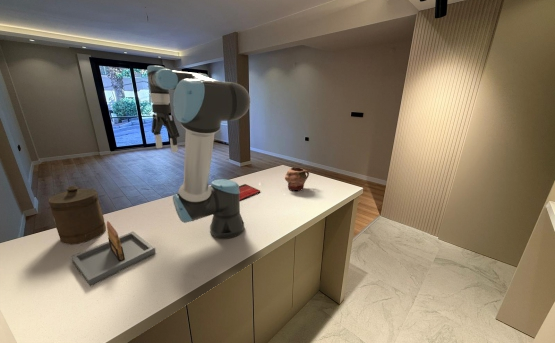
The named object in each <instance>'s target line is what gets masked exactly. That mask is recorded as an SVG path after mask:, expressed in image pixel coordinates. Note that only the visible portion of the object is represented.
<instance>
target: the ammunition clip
mask: <svg viewBox="0 0 555 343" xmlns="http://www.w3.org/2000/svg"><path fill="white" fill-rule="evenodd" d="M106 230H107V236H108V237H107V240H108V241H109V244H110V248H111V250H112V252H113V253H114V255H115V256H116V258H117V259H118V261H122V260H124V259H125V257H124V252H123V248H122V246H121V242H120V239H119V237H120V236H119V234H118V232H117V230H116V229H115V228H114V226H113V225H112V224H111V223H110V222H109V220H107V222H106Z"/></svg>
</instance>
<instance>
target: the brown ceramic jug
mask: <svg viewBox="0 0 555 343" xmlns="http://www.w3.org/2000/svg"><path fill="white" fill-rule="evenodd" d="M309 176H310V171H309V170H306V169H303V167H302V168H301V167H290V168H289V169H288V170H287V172H286V174H285V176H284V180H285V181H286V182H287V188H288V189H289V190H290V189H291V190H290V191H292V190H301V189H302V190H303V189H304V186H305V183H306V181H307V180H308V178H309ZM302 190H301V191H302Z"/></svg>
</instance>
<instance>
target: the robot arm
mask: <svg viewBox="0 0 555 343" xmlns="http://www.w3.org/2000/svg"><path fill="white" fill-rule="evenodd" d="M146 69H147V71H146V72H147V74H146V76H147V79H148V86H149V92H150V101H151V103H152V105H151V109H152V113H153V114H152V121H151V122H152V124H151V134H153V136H154V139H155V140H154V141H155V148H156V149H161V148H163V141H162V133H161V130H162V128H163V127H165V128H166V131H167V132H168V134H169V142H170V150H171V153H178V152H179V149H178V140H177V139H178V138H179V137H180V136H181V135H180V133H179V131H178V127H177V126H176V125H177V124H176V121H175V119H174V116H175V118H176V120H177V121H178V122H180V126H181V127H182V128H183V129H184V130H185V138H184V139H185V140H184V141H185V142H184V167H183V169H184V170H183V183H182V184H181V185H180V186H179V189H178V193H175V194H173V195H172V202H173V206H174V209H175V212H176V214H177V216H178V218H179V220H180V221H181V222H182V223H190V222H195V221H197V220H201V219H204V218H206V217H209V216H212V215H213V216H212V219H211V223H210V225H209V229H210V230H209V232H210V234H211V235H212V236H213V237H214V238H217V239H221V240H222V239H223V240H224V239H225V240H226V239H227V240H228V239H232V238H236V237H238V236H240V235H241V234H242V233H243V232H244V230H245V222H244V219H243V217H242V214H241V211H240V210H241V207H240V203H241V201H240V197H239V194H240V191H239V186H240V185H239V183H238V182H236V181H234V180H230V179H222V178H221V179H219V178H218V179H215V180H212V181H211V182H210V185H209V181H210V174H211V167H212V166H211V165H212V157H213V148H214V141H215V140H214V139H215V134H216V133H218V132H220V130H221V124H222V122H230V121H236V120H239V119H241V118H242V117H243V116H245V115H246V114H247V113H248V110H249V109H250V104H251V97H250V93H249V92H248V90H247V89H246V88H245V87H244V86H243V85H241V84H239V83H237V82H233V81H232V82H231V81H222V80H221V81H220V80H217V79H214V78H211V77H209V75H208V74H206V73H201V72H198V73H197V72H188V71H179V70H171V68H170V69H169V68H166V67H164V66H162V65H148V66H147V68H146ZM169 90H170V91H171V90H172V91H174V93H173V99H172V100H173V101H172V104H173V105H172V106H173V113H174V115H169V114H170V113H172V108H171V104H170V103H171V99H170V98H171V96H170V93H169V92H170V91H169Z"/></svg>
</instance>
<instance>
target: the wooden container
mask: <svg viewBox="0 0 555 343" xmlns="http://www.w3.org/2000/svg"><path fill="white" fill-rule="evenodd" d="M48 203H49V206H50V210H51V214H52V218H53V221H54V225H55V228H56V231H57V235H58V236H59V239H60V242H61V243H62V244H64V245H78V244H82V243H86V242H88V241H89V242H90V241H91V240H94V239H95V238H98V237H100V236H101V235H102V234H104V233H105V231H106V230H107V225H106V222H105V218H104V214H103V211H102V207H101V204H100V200H99V196H98V192H97V190H96V189H93V188H80V189H79V187H78V186H76V185H70V186H69V185H68V187H66V191H64V192H60V193H58V194H55V195H53V196H51V197H50V198H49V199H48Z"/></svg>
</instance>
